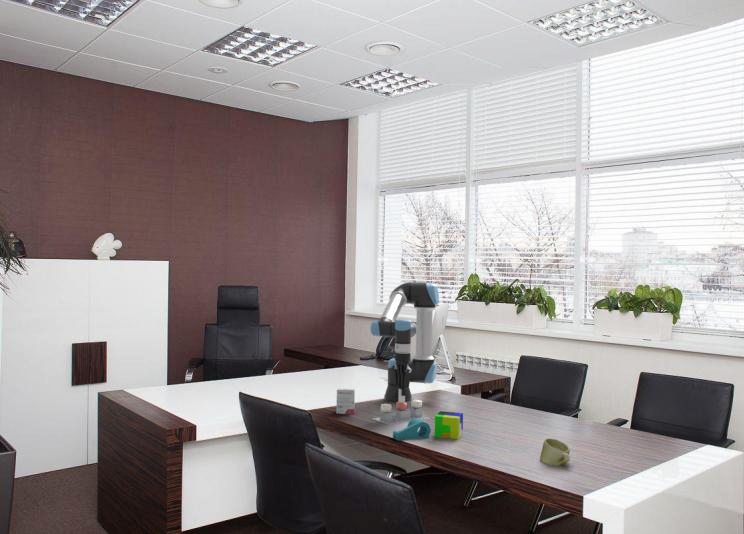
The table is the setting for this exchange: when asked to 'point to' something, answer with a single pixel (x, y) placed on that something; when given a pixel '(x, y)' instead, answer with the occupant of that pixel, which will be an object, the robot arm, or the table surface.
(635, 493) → the table surface
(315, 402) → the table surface
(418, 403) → the knob inner
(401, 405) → the knob mid
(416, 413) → the console
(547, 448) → the mug
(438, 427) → the puzzle toy
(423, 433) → the tape dispenser
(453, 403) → the table surface
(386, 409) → the knob outer
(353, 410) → the ink box
